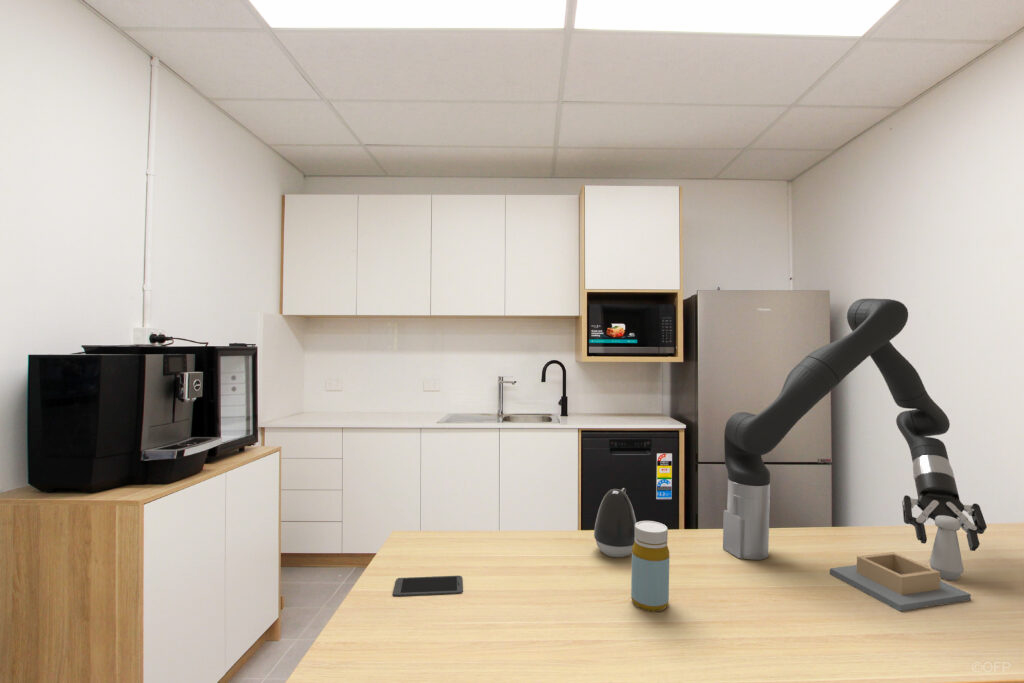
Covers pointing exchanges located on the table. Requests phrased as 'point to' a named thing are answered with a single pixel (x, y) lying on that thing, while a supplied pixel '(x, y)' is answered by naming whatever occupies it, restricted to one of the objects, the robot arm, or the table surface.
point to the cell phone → (428, 586)
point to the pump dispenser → (615, 524)
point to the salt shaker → (947, 548)
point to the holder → (899, 581)
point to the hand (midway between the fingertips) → (948, 545)
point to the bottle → (650, 566)
